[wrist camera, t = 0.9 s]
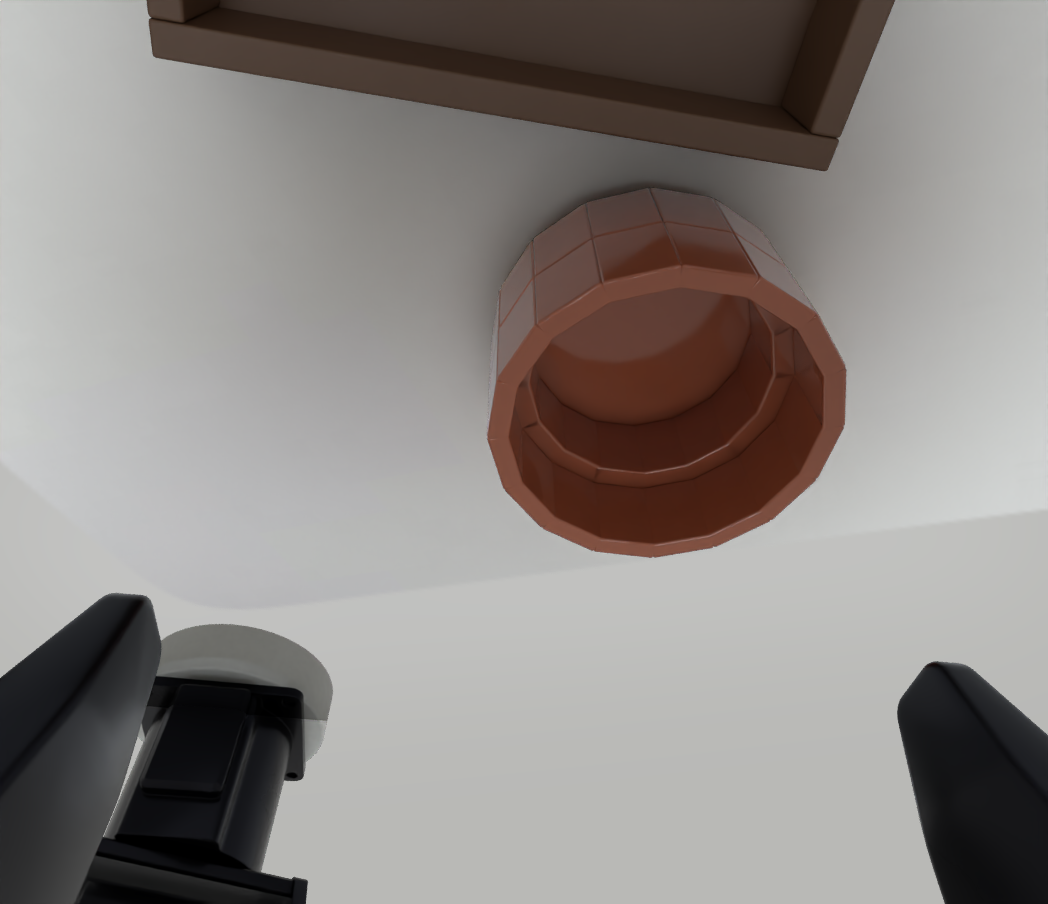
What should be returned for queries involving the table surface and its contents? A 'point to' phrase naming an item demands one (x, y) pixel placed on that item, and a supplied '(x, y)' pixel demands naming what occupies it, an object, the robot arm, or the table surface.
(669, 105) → the tray
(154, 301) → the table surface
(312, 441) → the table surface
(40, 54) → the table surface
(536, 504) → the plant pot
